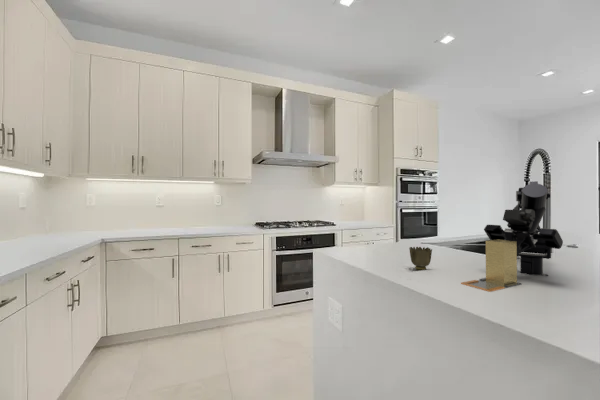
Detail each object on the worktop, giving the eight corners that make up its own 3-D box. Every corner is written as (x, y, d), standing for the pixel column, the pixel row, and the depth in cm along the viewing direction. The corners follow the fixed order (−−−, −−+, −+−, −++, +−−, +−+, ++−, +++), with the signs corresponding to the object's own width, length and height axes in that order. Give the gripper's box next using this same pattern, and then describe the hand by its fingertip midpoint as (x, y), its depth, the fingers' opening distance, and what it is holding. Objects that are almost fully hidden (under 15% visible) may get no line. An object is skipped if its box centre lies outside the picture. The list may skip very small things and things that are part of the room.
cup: (434, 273, 95) (434, 250, 95) (411, 272, 97) (411, 249, 97) (429, 268, 103) (428, 246, 103) (407, 267, 104) (407, 246, 104)
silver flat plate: (492, 280, 87) (492, 276, 87) (522, 287, 79) (522, 283, 79) (460, 287, 80) (460, 282, 80) (489, 295, 73) (489, 290, 73)
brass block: (498, 278, 85) (498, 239, 85) (516, 283, 80) (516, 241, 80) (485, 281, 82) (485, 240, 82) (504, 285, 78) (503, 242, 78)
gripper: (486, 200, 94) (466, 235, 89) (557, 200, 77) (537, 243, 72) (500, 222, 97) (481, 257, 92) (571, 227, 81) (552, 270, 76)
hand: (509, 256), depth 83 cm, fingers closed
